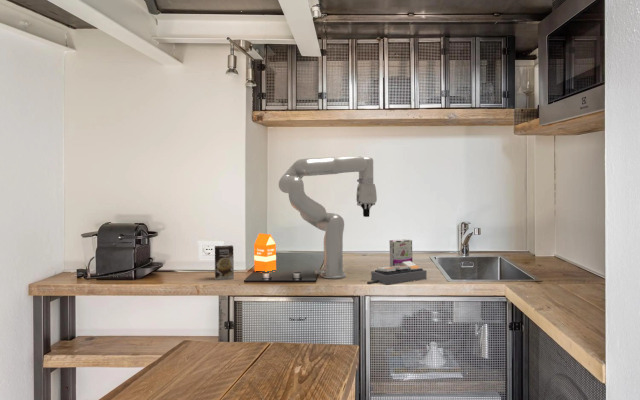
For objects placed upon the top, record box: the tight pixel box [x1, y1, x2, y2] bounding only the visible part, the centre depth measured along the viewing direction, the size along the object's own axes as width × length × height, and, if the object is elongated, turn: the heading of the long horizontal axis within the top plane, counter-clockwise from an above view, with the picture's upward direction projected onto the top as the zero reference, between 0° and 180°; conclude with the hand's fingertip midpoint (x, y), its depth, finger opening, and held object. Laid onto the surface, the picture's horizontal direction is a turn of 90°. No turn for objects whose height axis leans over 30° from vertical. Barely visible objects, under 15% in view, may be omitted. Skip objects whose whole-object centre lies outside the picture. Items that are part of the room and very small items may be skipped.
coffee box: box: [214, 244, 235, 281], centre depth 222 cm, size 9×6×16 cm
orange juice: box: [253, 233, 277, 272], centre depth 238 cm, size 8×9×20 cm
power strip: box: [366, 267, 428, 286], centre depth 214 cm, size 30×12×5 cm, turn 118°
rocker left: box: [376, 266, 396, 272], centre depth 212 cm, size 5×8×1 cm, turn 28°
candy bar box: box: [389, 238, 413, 267], centre depth 234 cm, size 11×5×16 cm, turn 105°
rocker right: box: [402, 261, 421, 270], centre depth 219 cm, size 5×8×1 cm, turn 28°
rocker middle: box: [393, 266, 408, 269], centre depth 215 cm, size 5×8×1 cm, turn 28°
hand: (366, 216), depth 232 cm, fingers closed
